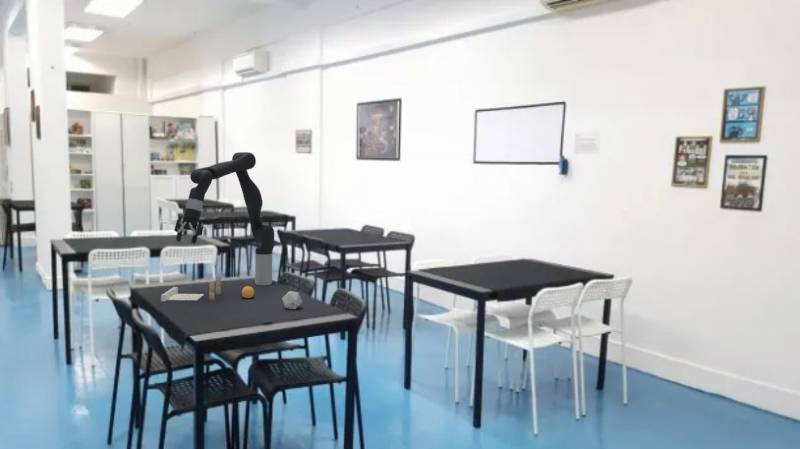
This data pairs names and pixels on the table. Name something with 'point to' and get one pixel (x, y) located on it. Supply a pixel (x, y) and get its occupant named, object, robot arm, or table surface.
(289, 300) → the die
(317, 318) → the table surface
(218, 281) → the post
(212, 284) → the post
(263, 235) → the robot arm
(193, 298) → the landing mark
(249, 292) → the ball
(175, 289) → the stopper wall
